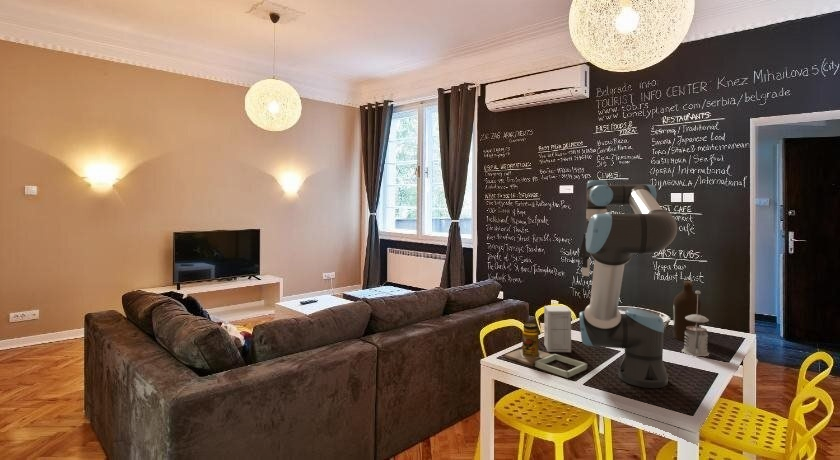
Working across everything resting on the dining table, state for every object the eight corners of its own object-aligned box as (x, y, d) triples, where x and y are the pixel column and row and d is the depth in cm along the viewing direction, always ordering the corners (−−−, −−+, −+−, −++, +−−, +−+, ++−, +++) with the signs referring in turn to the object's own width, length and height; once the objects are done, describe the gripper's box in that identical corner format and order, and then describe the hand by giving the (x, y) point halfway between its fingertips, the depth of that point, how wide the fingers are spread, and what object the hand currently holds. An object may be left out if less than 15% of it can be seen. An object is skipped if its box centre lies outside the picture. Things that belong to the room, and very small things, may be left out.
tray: (587, 368, 166) (587, 363, 166) (567, 378, 158) (567, 372, 158) (554, 358, 177) (555, 353, 177) (534, 366, 169) (534, 361, 169)
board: (554, 357, 178) (554, 355, 178) (532, 366, 169) (532, 364, 169) (527, 349, 188) (527, 346, 188) (504, 357, 179) (504, 354, 179)
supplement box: (566, 345, 193) (567, 305, 191) (571, 352, 183) (572, 311, 182) (543, 344, 194) (543, 305, 192) (547, 352, 184) (547, 310, 183)
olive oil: (703, 338, 199) (706, 281, 197) (695, 344, 192) (697, 285, 190) (676, 333, 207) (679, 278, 205) (668, 338, 200) (670, 281, 198)
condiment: (522, 358, 175) (523, 327, 174) (518, 350, 183) (519, 321, 182) (542, 358, 174) (542, 327, 174) (537, 350, 183) (537, 321, 182)
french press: (708, 350, 184) (710, 289, 182) (712, 360, 174) (715, 295, 172) (680, 347, 189) (682, 287, 187) (682, 356, 178) (685, 293, 176)
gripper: (603, 218, 190) (602, 268, 192) (569, 221, 174) (568, 276, 176) (621, 218, 184) (620, 271, 186) (587, 221, 169) (586, 278, 170)
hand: (595, 273), depth 181 cm, fingers open, 13 cm apart
